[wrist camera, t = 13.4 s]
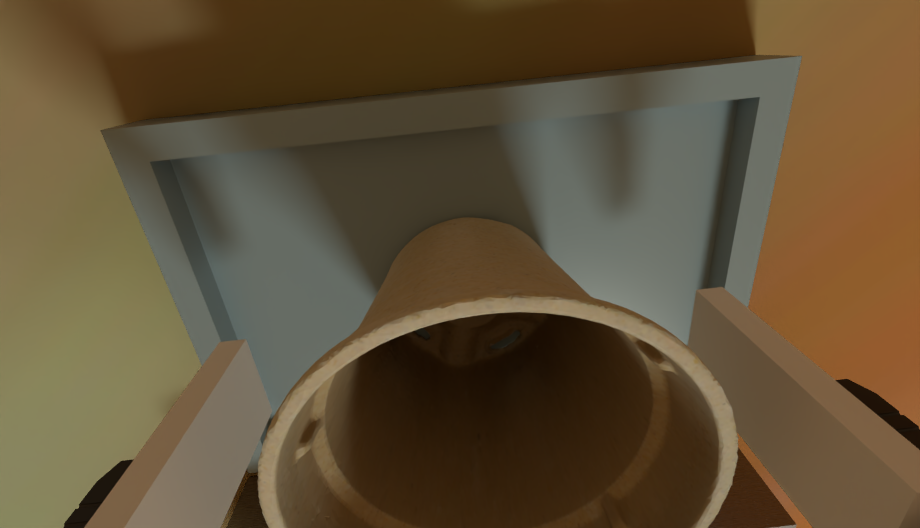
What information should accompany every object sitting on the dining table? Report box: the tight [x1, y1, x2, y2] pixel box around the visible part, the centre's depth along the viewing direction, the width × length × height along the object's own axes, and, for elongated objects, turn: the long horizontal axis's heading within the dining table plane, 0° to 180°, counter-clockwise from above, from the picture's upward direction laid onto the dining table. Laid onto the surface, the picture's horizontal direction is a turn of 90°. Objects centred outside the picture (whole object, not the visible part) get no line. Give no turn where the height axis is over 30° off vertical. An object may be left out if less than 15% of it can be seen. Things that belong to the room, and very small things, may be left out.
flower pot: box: [257, 217, 738, 528], centre depth 13 cm, size 9×9×9 cm
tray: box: [101, 55, 802, 473], centre depth 17 cm, size 20×14×2 cm
